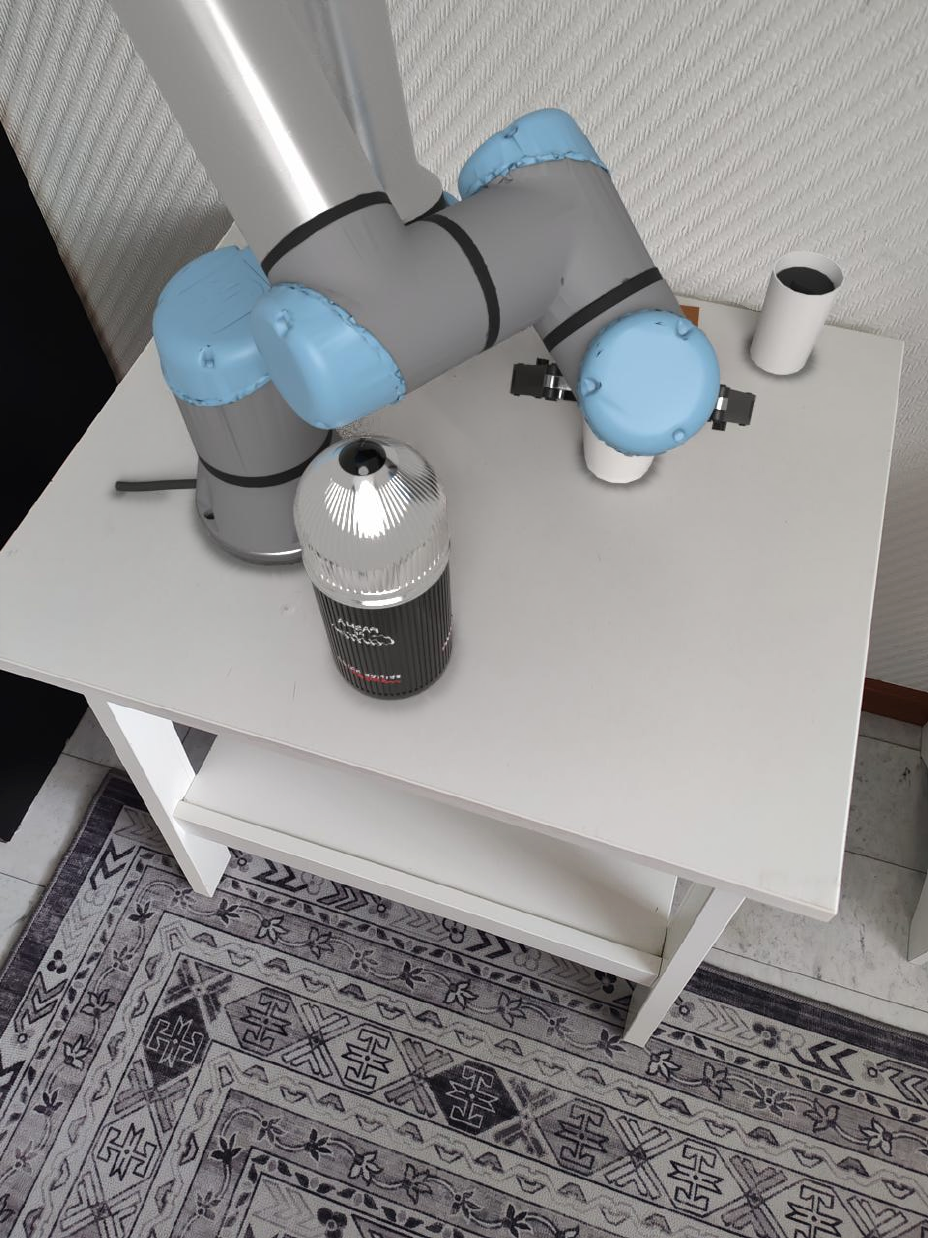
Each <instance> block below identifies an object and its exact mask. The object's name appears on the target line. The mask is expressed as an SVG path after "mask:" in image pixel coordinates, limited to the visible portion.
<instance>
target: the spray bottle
mask: <svg viewBox="0 0 928 1238" xmlns="http://www.w3.org/2000/svg"><path fill="white" fill-rule="evenodd" d="M342 439H343V440H340V441H338V442H336V443H334V444H332V445H331V446H329V447H327V448H326V449H325V450H323V451H322V452H321V453H320V454H318V455H317V456H316V457H315V458H314V459H313V461H312V462H311V463H310V464H309V466H308V467H307V468H306V470H305V471H304V473H303V475H302V477H301V478H300V481H299V483H298V486H297V489H296V493H295V496H294V502H293V519H294V525H295V528H296V532H297V535H298V539H299V542H300V546H301V552H302V559H303V561H302V564H303V566H304V569H305V572H306V574H307V576H308V577H309V579H310V582H311V585H312V588H313V593H314V595H315V600H316V603H317V607H318V610H319V613H320V616H321V620H322V624H323V628H324V630H325V634H326V638H327V642H328V645H329V647H330V651H331V655H332V658H333V662H334V666H335V668H336V669H337V671H338V673H339V675H340V677H341V678H342V679H343V680H344V681H345V682H346V684H347V685H348V686H349V687H351V688H352V689H353V690H354V691H355V692H357V693H359V694H362V695H363V696H366V697H368V698H371V699H375V700H379V701H388V702H389V701H402V700H405V699H410V698H413V697H415V696H419V695H420V694H422V693H424V692H426V691H427V690H429V689H430V688H432V687H433V686H434V685H435V684H436V683H437V682H438V681H439V680H440V679H441V678H442V676H443V675H444V674H445V672H446V670H447V669H448V667H449V664H450V662H451V658H452V654H453V647H454V642H453V641H454V640H453V618H452V616H453V615H452V598H451V597H452V596H451V573H450V571H451V570H450V556H451V548H452V537H451V531H450V527H449V515H448V513H449V512H448V497H447V493H446V489H445V485H444V484H443V481H442V479H441V477H440V475H439V474H438V472H437V471H436V469H435V468H434V466H433V465H432V464H431V463H430V461H429V460H428V459H427V458H426V457H425V456H424V455H423V454H422V453H420V452H419V451H418V450H417V449H415V448H414V447H413V446H411V445H409V444H407V443H405V442H404V441H401V440H398V439H396V438H393V437H389V436H385V435H380V434H364V435H363V434H359V435H353V436H349V437H346V438H342Z"/></svg>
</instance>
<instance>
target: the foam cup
mask: <svg viewBox="0 0 928 1238" xmlns="http://www.w3.org/2000/svg"><path fill="white" fill-rule="evenodd" d="M581 415H582V435H583V436H582V439H583V440H582V441H583V458H584V461H585V464H586V468H587V469H588V470H589V471H590V472H591V473H592V474H593V475H594V476H595V477H596V478H598V479H601V480H603V481H606V482H609V483H611V484H612V483H613V484H628V483H630V482H633V481H637V480H639V479H641V478H642V477H643V475H645V474H646V473H647V472H648V471H649V467H651V465H652V463H653V461H654V459H655V456H650V457H648V456H636V455H635V456H633V457H628V456H625V455H624V454H623V453H620V452H617V451H616V450H615V449H613V448H611V447H609V446H607V445H606V444H605V442H604V441H601V440H598V439H597V437H596V436H595V435H594V433H593V432H592V430H591V429H590V427H589V426H588V424H587V422H586V420H585V418H584V416H583V414H582V413H581Z"/></svg>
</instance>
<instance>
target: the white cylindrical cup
mask: <svg viewBox="0 0 928 1238" xmlns="http://www.w3.org/2000/svg"><path fill="white" fill-rule="evenodd" d="M844 272H845V271H844V269H843V267H842V266H840V264H838V262H837V261H836V260H834V259H832V258H831V257H829V256H827V255H825V254H823V253H819V252H815V251H811V250H795V251H791V252H788V253H785V254H783V255H781V256H780V257H779V258H777V259H776V260H775V263H774V265H773V267H772V271H771V273H770V277H769V281H768V285H767V287H766V292H765V296H764V299H763V303H762V305H761V306H762V307H761V310H760V313H759V316H758V320H757V324H756V327H755V332H754V335H753V338H752V343H751V346H750V349H749V353H750V359H751V360H752V362H753V363H754V364H755V365H756V367H758V368H759V369H762V371H765V372H767V373H769V374H773V375H777V376H778V375H779V376H780V375H781V376H782V375H783V376H784V375H786V376H788V375H792V374H794V373H798V372H799V371H800V370H802V369H803V368H804V367H805V366H806V363H807V361H808V359H809V357H810V355H811V353H812V350H813V348H814V346H815V344H816V342H817V340H818V338H819V336H820V334H821V332H822V330H823V328H824V325H825V324H826V322H827V320H828V317H829V316H830V313H831V311H832V309H833V307H834V305H835V303H836V301H837V299H838V297H839V294H840V293H841V290H842V288H843V286H844V282H845V280H846V277H845V273H844Z"/></svg>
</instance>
